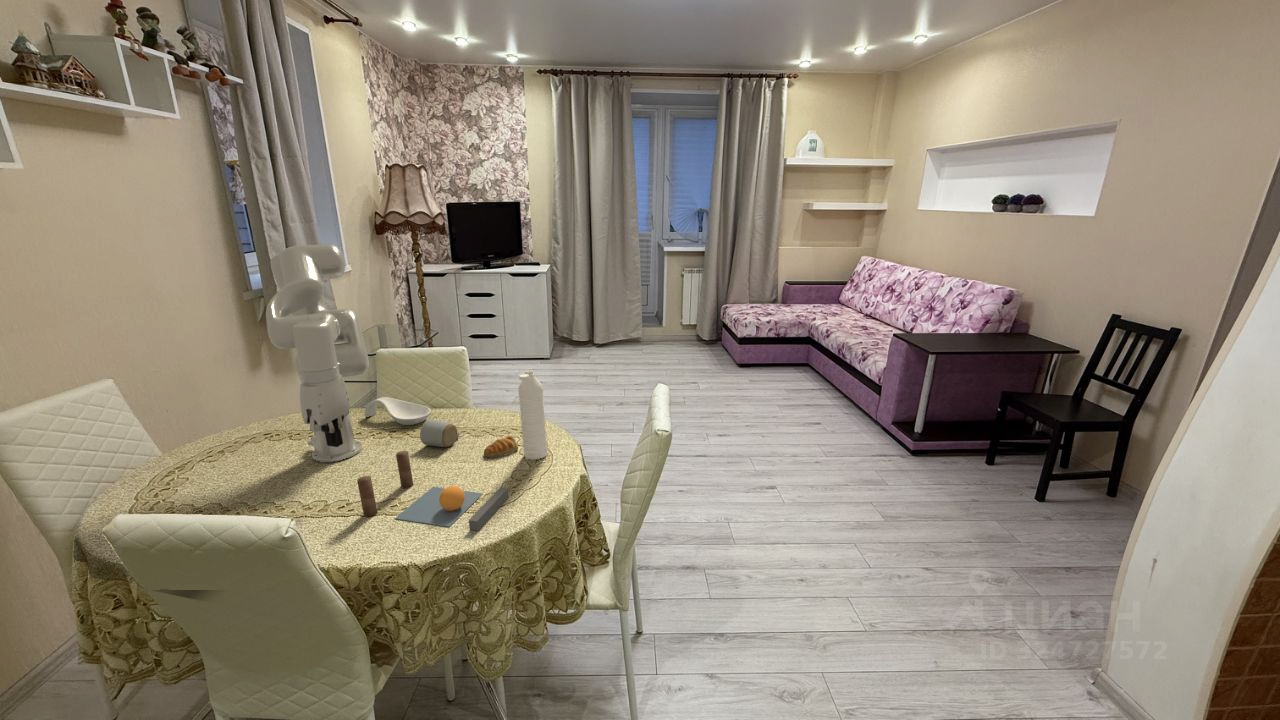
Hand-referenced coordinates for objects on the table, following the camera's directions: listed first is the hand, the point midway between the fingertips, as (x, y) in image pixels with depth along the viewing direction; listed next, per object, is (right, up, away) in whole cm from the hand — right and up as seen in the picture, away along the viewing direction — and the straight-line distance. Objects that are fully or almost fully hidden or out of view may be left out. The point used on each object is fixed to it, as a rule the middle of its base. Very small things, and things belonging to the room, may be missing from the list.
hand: (335, 444), depth 127 cm
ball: (+30, -11, -6) cm, 33 cm away
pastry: (+34, -6, +24) cm, 42 cm away
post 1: (+12, -15, -6) cm, 20 cm away
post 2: (+15, -11, +6) cm, 20 cm away
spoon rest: (-6, 0, +47) cm, 48 cm away
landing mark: (+27, -14, -4) cm, 30 cm away
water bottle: (+44, -7, +20) cm, 49 cm away
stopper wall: (+40, -15, -7) cm, 43 cm away
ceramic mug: (+15, -4, +29) cm, 33 cm away
